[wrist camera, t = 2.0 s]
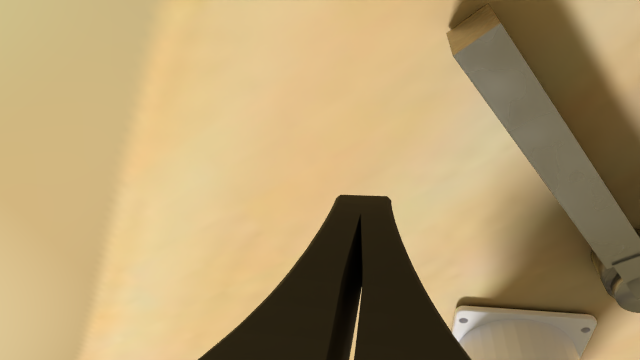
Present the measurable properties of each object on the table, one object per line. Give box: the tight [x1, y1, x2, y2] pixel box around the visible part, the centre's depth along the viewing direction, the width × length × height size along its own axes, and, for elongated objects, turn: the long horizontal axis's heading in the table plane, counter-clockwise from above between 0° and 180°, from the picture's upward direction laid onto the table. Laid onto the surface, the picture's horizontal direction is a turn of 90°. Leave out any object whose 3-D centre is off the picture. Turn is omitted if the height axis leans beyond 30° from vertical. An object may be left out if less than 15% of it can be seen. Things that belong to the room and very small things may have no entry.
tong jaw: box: [447, 4, 640, 313], centre depth 19 cm, size 17×3×3 cm, turn 42°
